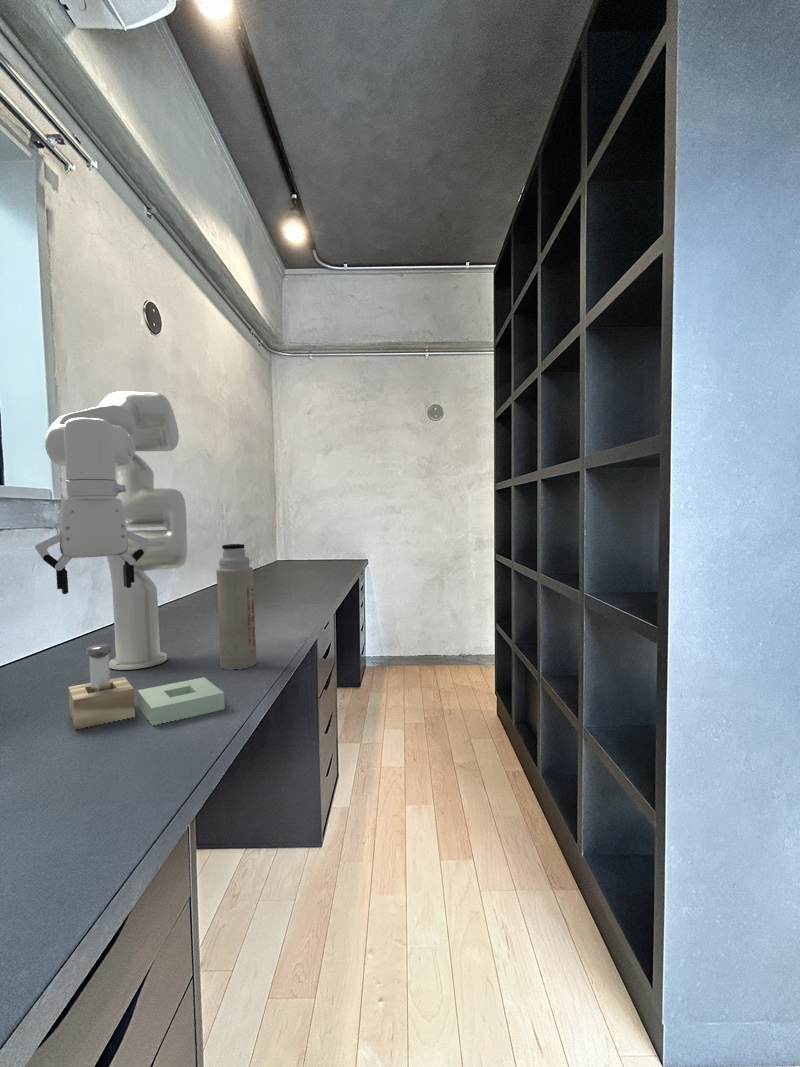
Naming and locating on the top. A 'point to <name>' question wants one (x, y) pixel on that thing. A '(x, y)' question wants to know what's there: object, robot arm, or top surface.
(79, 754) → the top surface
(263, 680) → the top surface
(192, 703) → the dock
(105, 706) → the frame
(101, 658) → the pin
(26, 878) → the top surface
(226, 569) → the thermos bottle
